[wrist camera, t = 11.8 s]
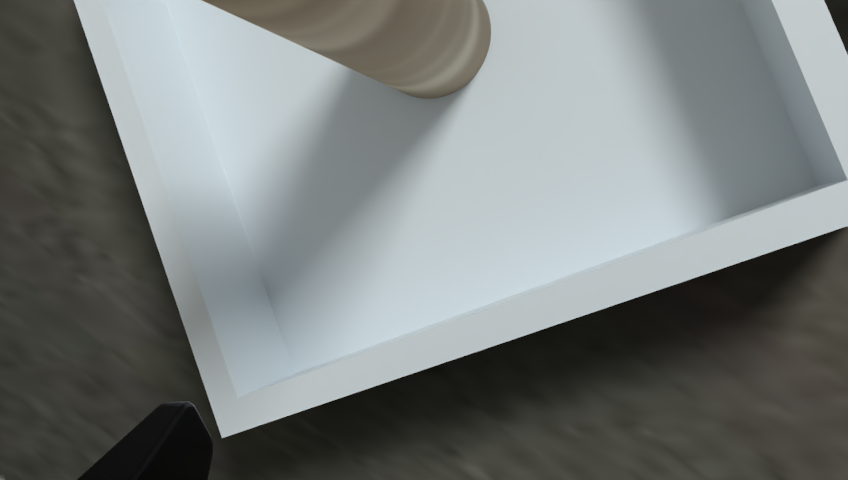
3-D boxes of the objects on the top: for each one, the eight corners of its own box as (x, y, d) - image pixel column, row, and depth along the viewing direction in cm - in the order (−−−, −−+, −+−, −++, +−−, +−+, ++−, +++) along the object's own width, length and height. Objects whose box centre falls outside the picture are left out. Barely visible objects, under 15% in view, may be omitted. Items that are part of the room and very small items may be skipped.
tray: (863, 205, 17) (911, 204, 13) (291, 403, 21) (222, 438, 18) (610, -392, 18) (597, -529, 15) (123, -80, 23) (29, -130, 19)
